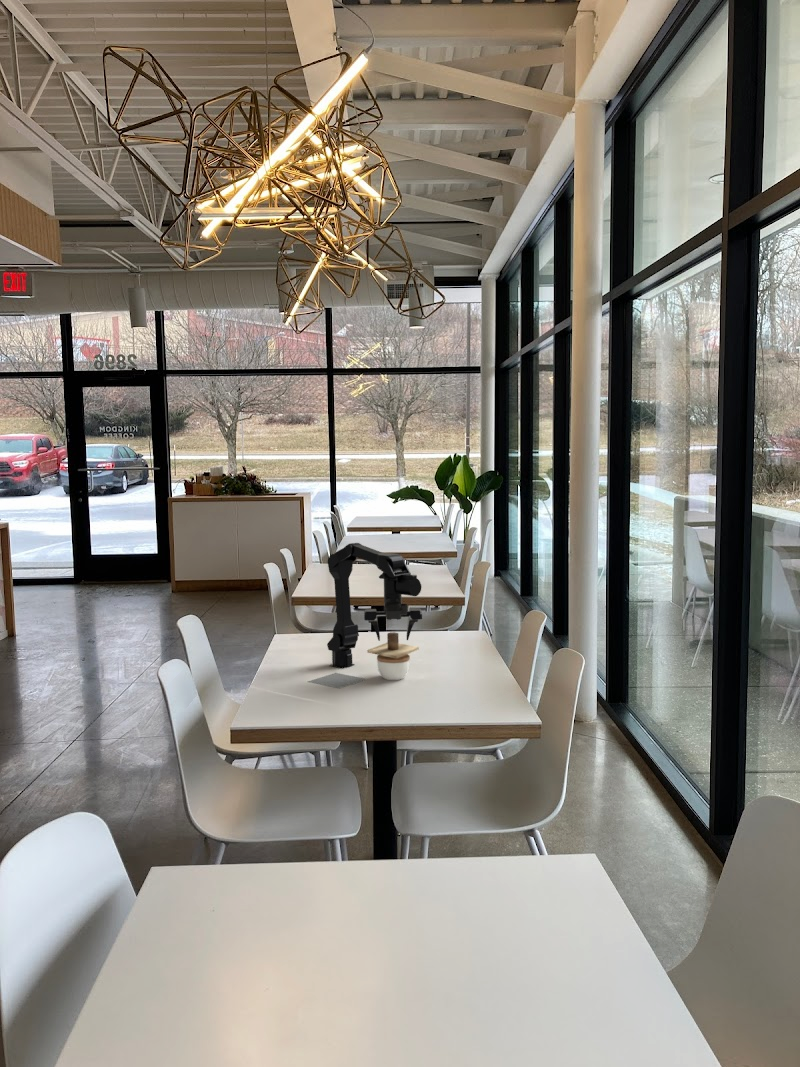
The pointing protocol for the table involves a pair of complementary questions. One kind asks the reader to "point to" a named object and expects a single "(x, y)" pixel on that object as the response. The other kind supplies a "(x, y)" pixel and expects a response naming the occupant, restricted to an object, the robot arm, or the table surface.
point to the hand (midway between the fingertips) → (393, 640)
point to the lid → (393, 647)
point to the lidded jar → (393, 667)
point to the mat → (337, 680)
